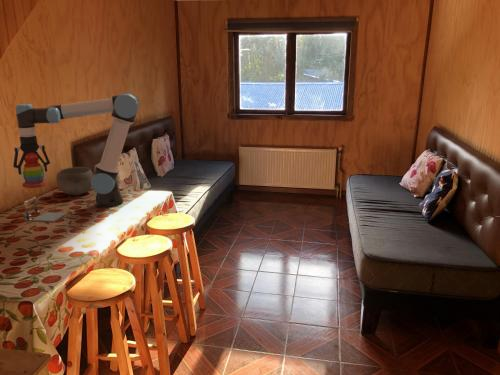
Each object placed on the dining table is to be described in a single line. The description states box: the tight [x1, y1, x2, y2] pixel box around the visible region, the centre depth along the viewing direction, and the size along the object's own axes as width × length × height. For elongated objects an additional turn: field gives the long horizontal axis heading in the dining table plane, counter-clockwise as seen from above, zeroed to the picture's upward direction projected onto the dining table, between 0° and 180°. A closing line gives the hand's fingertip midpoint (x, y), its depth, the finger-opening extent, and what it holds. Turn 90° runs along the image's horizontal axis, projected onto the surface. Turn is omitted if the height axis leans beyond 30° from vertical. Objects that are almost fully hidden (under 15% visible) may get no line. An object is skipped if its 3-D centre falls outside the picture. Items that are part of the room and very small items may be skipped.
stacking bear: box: [21, 151, 47, 189], centre depth 216 cm, size 11×10×18 cm
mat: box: [31, 211, 68, 223], centre depth 220 cm, size 12×12×1 cm
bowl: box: [56, 166, 94, 196], centre depth 260 cm, size 21×21×15 cm
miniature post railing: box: [23, 196, 41, 222], centre depth 221 cm, size 8×16×9 cm, turn 170°
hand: (34, 179), depth 218 cm, fingers closed on stacking bear, 9 cm apart
